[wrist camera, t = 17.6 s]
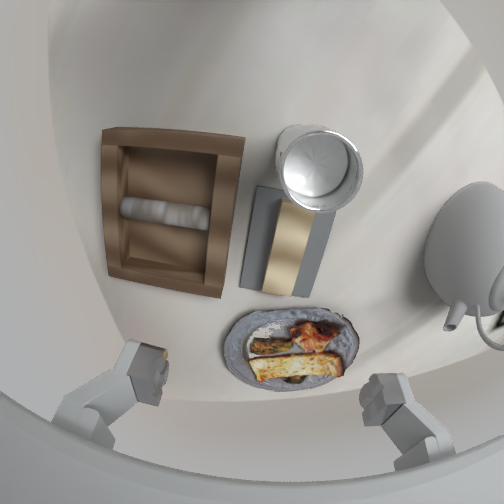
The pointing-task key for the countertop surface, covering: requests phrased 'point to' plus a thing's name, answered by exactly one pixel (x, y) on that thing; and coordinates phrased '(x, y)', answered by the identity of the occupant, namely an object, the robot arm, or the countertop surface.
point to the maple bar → (287, 248)
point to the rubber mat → (262, 240)
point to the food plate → (292, 349)
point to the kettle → (469, 255)
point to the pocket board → (170, 183)
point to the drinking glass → (318, 168)
